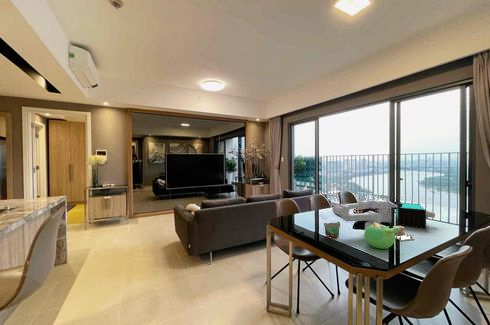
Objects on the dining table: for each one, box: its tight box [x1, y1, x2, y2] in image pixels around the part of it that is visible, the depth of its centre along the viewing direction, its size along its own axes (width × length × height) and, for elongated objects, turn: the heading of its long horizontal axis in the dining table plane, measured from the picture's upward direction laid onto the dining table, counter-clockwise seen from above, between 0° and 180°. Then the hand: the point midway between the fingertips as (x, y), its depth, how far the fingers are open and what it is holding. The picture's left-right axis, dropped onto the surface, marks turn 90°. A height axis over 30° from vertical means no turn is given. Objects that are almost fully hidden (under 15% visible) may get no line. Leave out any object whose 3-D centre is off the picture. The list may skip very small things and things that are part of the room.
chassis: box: [395, 233, 415, 242], centre depth 146 cm, size 10×6×2 cm, turn 101°
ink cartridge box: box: [376, 208, 393, 223], centre depth 187 cm, size 10×6×14 cm, turn 78°
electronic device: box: [395, 201, 436, 229], centre depth 179 cm, size 25×25×15 cm
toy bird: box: [364, 222, 399, 250], centre depth 132 cm, size 18×17×15 cm
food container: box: [323, 221, 341, 239], centre depth 150 cm, size 12×6×10 cm, turn 105°
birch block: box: [392, 225, 406, 236], centre depth 156 cm, size 6×4×5 cm, turn 101°
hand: (397, 204), depth 160 cm, fingers open, 7 cm apart
